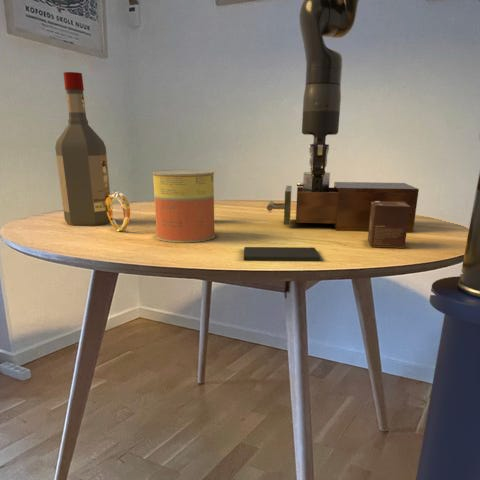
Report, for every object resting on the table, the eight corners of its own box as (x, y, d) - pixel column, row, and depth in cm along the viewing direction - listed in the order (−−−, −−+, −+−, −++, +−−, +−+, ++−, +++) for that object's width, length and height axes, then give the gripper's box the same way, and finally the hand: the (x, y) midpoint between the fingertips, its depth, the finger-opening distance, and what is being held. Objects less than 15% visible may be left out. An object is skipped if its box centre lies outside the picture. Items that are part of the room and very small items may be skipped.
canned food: (226, 236, 91) (226, 171, 87) (183, 245, 83) (180, 175, 79) (188, 229, 98) (185, 169, 94) (144, 236, 90) (139, 171, 86)
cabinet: (335, 230, 97) (339, 187, 94) (331, 219, 110) (334, 181, 107) (413, 232, 96) (419, 188, 93) (399, 221, 108) (404, 182, 105)
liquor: (62, 225, 101) (41, 70, 90) (75, 218, 110) (58, 75, 99) (104, 225, 101) (88, 70, 90) (114, 219, 110) (101, 76, 99)
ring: (135, 232, 94) (132, 191, 91) (120, 234, 92) (117, 192, 89) (118, 227, 99) (115, 188, 96) (104, 229, 97) (100, 189, 94)
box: (405, 248, 81) (410, 205, 79) (369, 247, 82) (373, 204, 80) (400, 241, 87) (405, 201, 84) (367, 240, 88) (371, 200, 85)
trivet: (314, 250, 80) (314, 247, 79) (320, 260, 73) (320, 257, 73) (244, 250, 80) (244, 246, 80) (243, 260, 73) (243, 256, 73)
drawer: (265, 223, 99) (266, 190, 97) (268, 215, 111) (269, 185, 108) (353, 226, 97) (356, 192, 95) (347, 216, 109) (350, 186, 106)
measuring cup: (295, 216, 101) (297, 173, 98) (295, 213, 106) (297, 171, 103) (327, 217, 100) (330, 173, 97) (326, 213, 106) (329, 172, 102)
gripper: (343, 107, 89) (335, 199, 95) (337, 111, 102) (331, 191, 108) (303, 107, 89) (298, 198, 96) (302, 111, 103) (298, 190, 109)
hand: (315, 194), depth 102 cm, fingers closed on measuring cup, 5 cm apart
